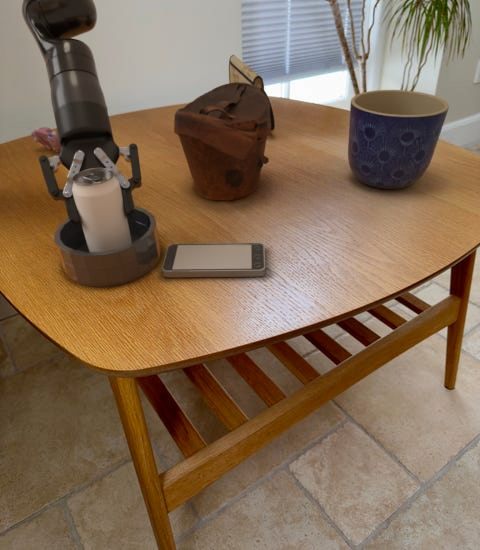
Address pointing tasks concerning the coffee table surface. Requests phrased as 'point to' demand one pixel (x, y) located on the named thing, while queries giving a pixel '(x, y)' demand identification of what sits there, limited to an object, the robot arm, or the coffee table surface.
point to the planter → (393, 136)
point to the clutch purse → (247, 79)
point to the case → (225, 139)
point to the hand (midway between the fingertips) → (104, 220)
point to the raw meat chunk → (47, 138)
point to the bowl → (109, 253)
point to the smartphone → (214, 260)
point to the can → (101, 209)
